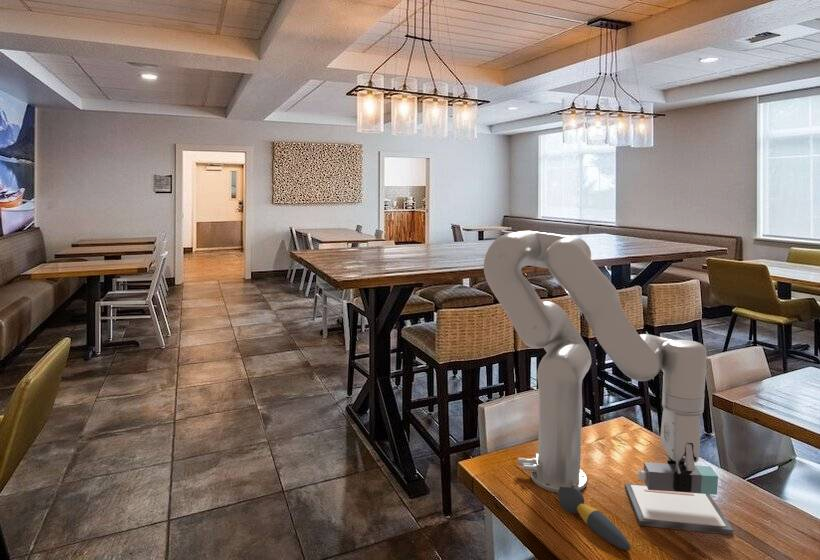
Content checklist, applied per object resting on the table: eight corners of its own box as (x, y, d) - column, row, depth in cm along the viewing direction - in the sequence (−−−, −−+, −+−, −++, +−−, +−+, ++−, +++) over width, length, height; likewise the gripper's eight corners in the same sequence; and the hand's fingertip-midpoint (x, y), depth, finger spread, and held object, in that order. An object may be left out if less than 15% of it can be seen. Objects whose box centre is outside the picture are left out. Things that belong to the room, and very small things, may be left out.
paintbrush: (642, 547, 96) (643, 523, 96) (625, 557, 94) (626, 532, 93) (563, 496, 113) (563, 475, 113) (546, 503, 111) (547, 482, 110)
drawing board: (639, 525, 103) (640, 519, 103) (624, 487, 116) (625, 482, 116) (732, 534, 99) (733, 528, 99) (706, 494, 113) (706, 489, 113)
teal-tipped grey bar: (641, 489, 106) (641, 471, 106) (636, 479, 110) (637, 461, 110) (716, 494, 104) (718, 476, 103) (709, 484, 108) (710, 466, 107)
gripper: (652, 386, 113) (648, 463, 116) (675, 416, 97) (671, 506, 99) (688, 387, 112) (684, 466, 114) (719, 418, 95) (713, 509, 98)
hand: (678, 483), depth 107 cm, fingers closed on teal-tipped grey bar, 4 cm apart
